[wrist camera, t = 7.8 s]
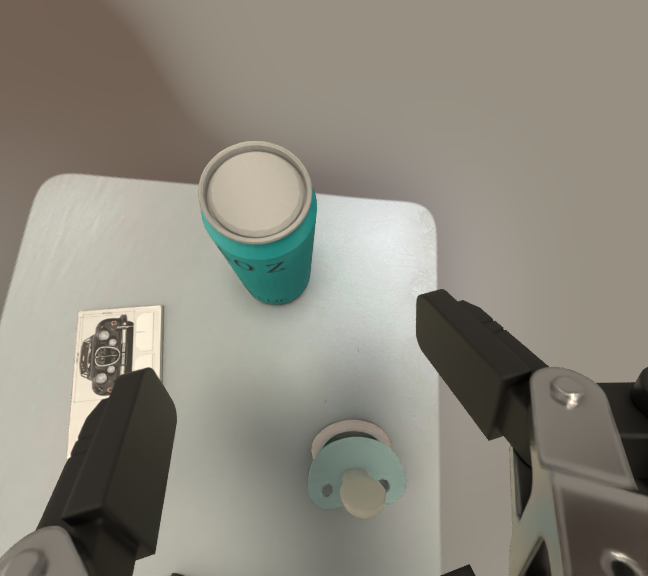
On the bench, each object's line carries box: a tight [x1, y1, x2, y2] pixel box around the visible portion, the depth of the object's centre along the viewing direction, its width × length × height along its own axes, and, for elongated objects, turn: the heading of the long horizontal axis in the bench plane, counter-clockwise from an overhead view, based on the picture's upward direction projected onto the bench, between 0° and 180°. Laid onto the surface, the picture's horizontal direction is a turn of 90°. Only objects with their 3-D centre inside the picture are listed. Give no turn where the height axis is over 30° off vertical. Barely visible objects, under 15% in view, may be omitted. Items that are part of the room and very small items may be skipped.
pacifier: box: [307, 420, 406, 519], centre depth 23 cm, size 7×6×6 cm
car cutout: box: [66, 305, 164, 462], centre depth 24 cm, size 15×7×4 cm, turn 5°
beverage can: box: [198, 141, 317, 304], centre depth 22 cm, size 6×6×15 cm
